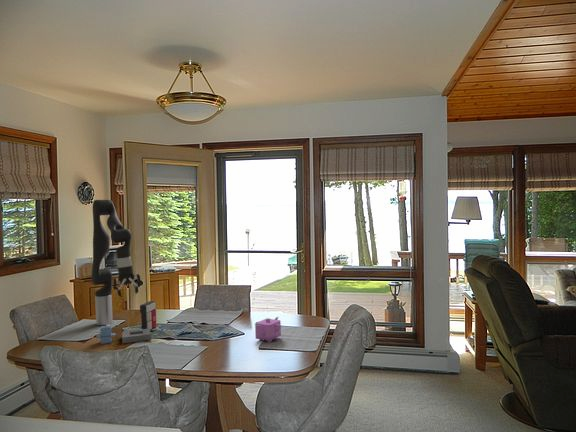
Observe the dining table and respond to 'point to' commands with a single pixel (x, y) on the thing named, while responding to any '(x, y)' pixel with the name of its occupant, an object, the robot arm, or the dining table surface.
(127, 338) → the chassis
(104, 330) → the servo
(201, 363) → the dining table surface
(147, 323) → the grey red upright box
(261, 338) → the teapot
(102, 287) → the robot arm
